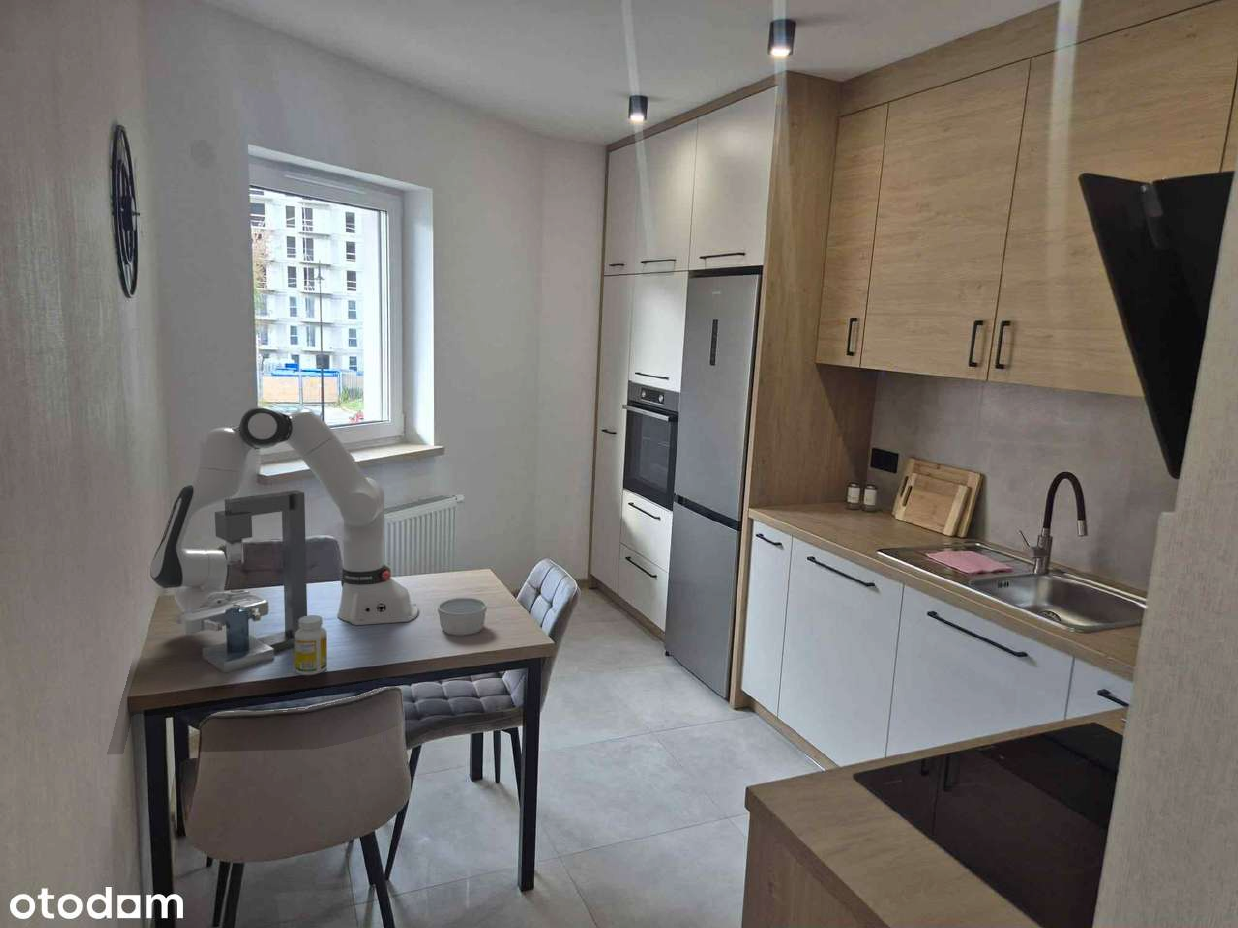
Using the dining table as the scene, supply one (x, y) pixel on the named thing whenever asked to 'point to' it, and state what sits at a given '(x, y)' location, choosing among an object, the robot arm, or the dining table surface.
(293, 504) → the press
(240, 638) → the blue bottle with knob
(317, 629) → the supplement bottle
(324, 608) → the dining table surface
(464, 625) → the ramekin
